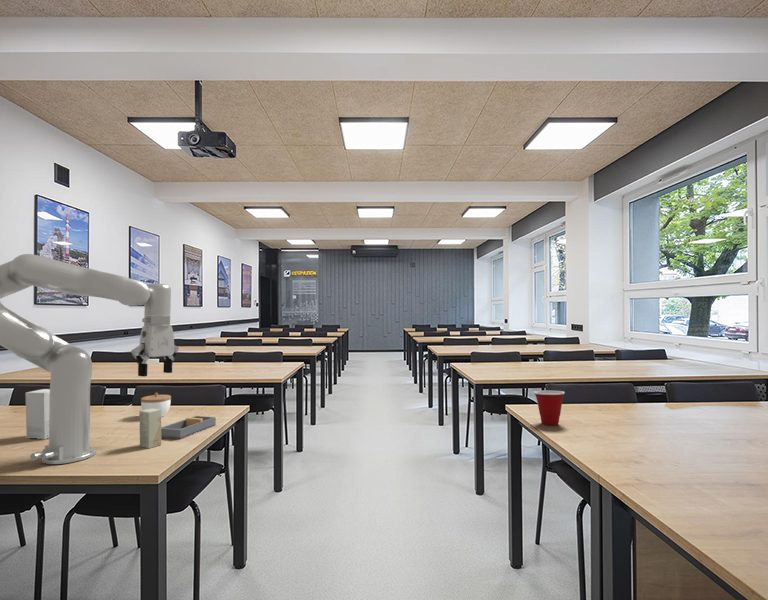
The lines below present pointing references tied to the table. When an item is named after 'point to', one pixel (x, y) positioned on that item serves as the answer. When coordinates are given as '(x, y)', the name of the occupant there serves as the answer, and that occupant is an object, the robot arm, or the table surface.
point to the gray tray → (186, 428)
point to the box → (150, 428)
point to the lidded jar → (156, 403)
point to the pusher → (192, 421)
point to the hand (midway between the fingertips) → (155, 374)
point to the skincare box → (37, 414)
